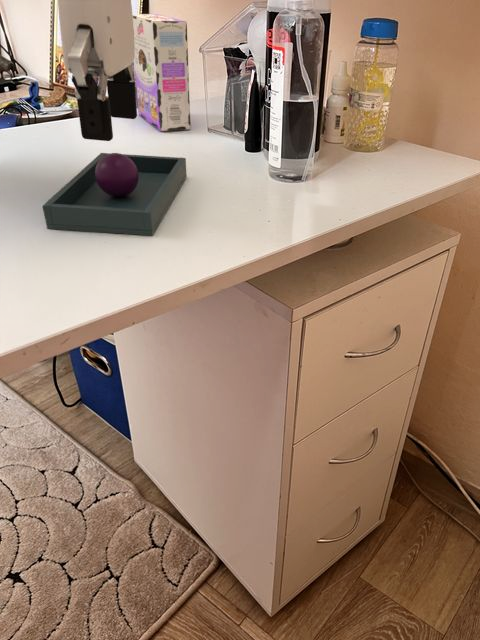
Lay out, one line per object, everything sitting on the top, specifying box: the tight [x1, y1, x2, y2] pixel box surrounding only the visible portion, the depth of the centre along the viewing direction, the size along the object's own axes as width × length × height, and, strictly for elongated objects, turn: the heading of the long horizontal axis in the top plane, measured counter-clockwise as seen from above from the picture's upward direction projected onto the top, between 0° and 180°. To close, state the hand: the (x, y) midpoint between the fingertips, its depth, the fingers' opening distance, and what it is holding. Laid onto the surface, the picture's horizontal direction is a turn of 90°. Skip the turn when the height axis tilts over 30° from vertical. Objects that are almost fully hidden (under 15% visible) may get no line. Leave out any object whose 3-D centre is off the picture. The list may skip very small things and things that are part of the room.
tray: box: [42, 152, 188, 237], centre depth 65 cm, size 12×20×3 cm, turn 176°
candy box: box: [132, 13, 192, 132], centre depth 92 cm, size 14×6×16 cm, turn 27°
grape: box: [95, 152, 139, 197], centre depth 63 cm, size 5×5×5 cm
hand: (111, 127), depth 61 cm, fingers open, 9 cm apart
